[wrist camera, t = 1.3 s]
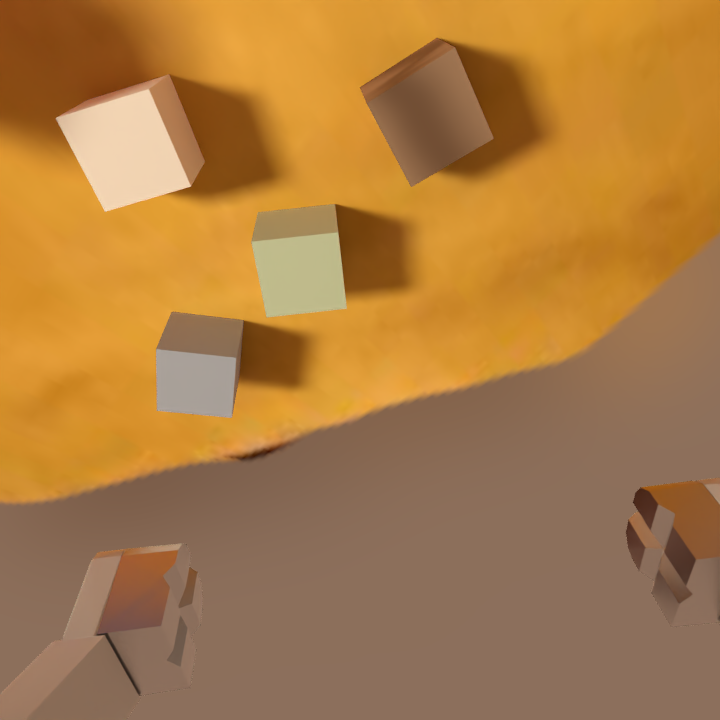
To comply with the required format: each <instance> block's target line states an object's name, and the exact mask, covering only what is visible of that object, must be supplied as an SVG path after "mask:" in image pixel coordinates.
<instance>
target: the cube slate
mask: <svg viewBox="0 0 720 720" xmlns="http://www.w3.org/2000/svg"><path fill="white" fill-rule="evenodd" d="M243 324H244V320H237V319H229V318H221V317H212V316H204V315H195V314H187V313H179V312H172V313H171V315H170V317H169V320H168V322H167V325H166V327H165V329H164V332H163V334H162V337H161V339H160V341H159V344H158V346H157V348H156V368H157V411H166V412H177V413H187V414H198V415H208V416H219V417H230V418H232V414H233V408H234V403H235V397H236V392H237V386H238V381H239V374H240V362H241V349H242V337H243Z"/></svg>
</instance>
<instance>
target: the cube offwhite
mask: <svg viewBox="0 0 720 720" xmlns="http://www.w3.org/2000/svg"><path fill="white" fill-rule="evenodd" d="M56 120H57V122H58V124H59V126H60V128H61V129H62V131H63V133H64V135H65V137H66V139H67V141H68V143H69V145H70V146H71V148H72V150H73V152H74V154H75V156H76V158H77V160H78V161H79V163H80V165H81V167H82V169H83V171H84V173H85V175H86V176H87V178H88V180H89V182H90V184H91V186H92V188H93V190H94V192H95V193H96V195H97V197H98V199H99V201H100V203H101V205H102V207H103V208H104V210H105V212H106V211H109V210H112V209H116V208H119V207H123V206H126V205H129V204H133V203H136V202H140V201H143V200H146V199H150V198H153V197H157V196H160V195H164V194H167V193H170V192H174V191H177V190H181V189H184V188H187V187H191V186H192V184H193V182H194V180H195V179H196V177H197V175H198V173H199V171H200V170H201V168H202V166H203V164H204V163H205V160H204V158H203V156H202V153H201V151H200V148H199V146H198V143H197V141H196V138H195V136H194V134H193V131H192V129H191V126H190V124H189V121H188V119H187V116H186V114H185V112H184V109H183V107H182V104H181V102H180V99H179V97H178V94H177V92H176V90H175V87H174V85H173V82H172V80H171V77H170V75H166V76H162V77H159V78H156V79H153V80H150V81H146V82H143V83H140V84H137V85H134V86H130V87H127V88H124V89H121V90H118V91H114V92H111V93H108V94H105V95H102V96H98V97H95V98H92V99H89V100H86V101H85V102H83V103H81V104H79V105H77V106H76V107H74V108H72V109H70V110H69V111H67V112H65V113H63V114H62V115H60V116H58V117H56Z"/></svg>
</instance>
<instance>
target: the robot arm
mask: <svg viewBox="0 0 720 720" xmlns="http://www.w3.org/2000/svg"><path fill="white" fill-rule="evenodd" d="M633 503H634V505H635V507H636V508H637V510H638V511H637V512H636V513H635V514H634V515H633V516H632V517H631V518H630V519H629V520H628V524H627V530H626V537H627V544H628V549H629V551H630V554H631V557H632V559H633V561H634V563H635V565H636V567H637V568H638V570H639V571H640V572H641V573H643V574H644V575H646V576H647V577H649V578H650V579H652V580H653V581H654V582H653V588H652V595H653V597H654V598H655V600H656V602H657V604H658V605H659V607H660V609H661V610H662V612H663V614H664V616H665V617H666V619H667V621H668V622H669V624H670V626H671V627H678V626H689V625H699V624H709V623H720V478H714V479H705V480H696V481H686V482H678V483H670V484H663V485H655V486H648V487H640V489H639V490H638V491H637V492H636V493H635V496H634V500H633ZM190 560H191V554H190V551H189V549H188V547H187V544H174V545H163V546H153V547H142V548H131V549H123V550H114V551H104V552H98V553H97V554H96V556H95V557H94V558H93V559H92V561H91V563H90V565H89V568H88V571H87V573H86V576H85V579H84V582H83V584H82V587H81V590H80V592H79V595H78V598H77V601H76V603H75V606H74V609H73V612H72V614H71V617H70V619H69V622H68V625H67V628H66V630H65V633H64V636H63V638H62V640H59V641H53V642H52V643H51V644H50V645H49V646H48V647H47V648H46V649H45V650H44V651H43V652H42V653H41V654H40V655H39V656H38V657H37V658H36V659H35V660H34V661H33V662H32V663H31V664H30V665H29V666H28V667H27V668H26V669H25V670H24V671H23V672H22V673H21V674H20V675H19V676H18V677H17V678H16V679H15V680H14V681H13V682H12V683H11V684H10V685H9V686H8V687H7V688H6V689H5V690H4V691H3V692H2V693H1V694H0V720H126V719H127V718H128V717H129V715H130V714H131V712H132V711H133V709H134V708H135V706H136V705H137V704H138V702H139V701H140V696H142V695H149V694H155V693H161V692H168V691H175V690H180V689H188V688H190V686H191V681H192V675H193V669H194V663H195V656H196V647H195V645H194V642H193V640H192V637H191V636H192V635H193V634H194V633H195V632H196V630H197V629H198V628H199V627H200V625H201V618H202V611H203V592H202V586H201V581H200V578H199V575H198V572H196V571H195V570H193V569H192V568H190V567H189V566H190Z"/></svg>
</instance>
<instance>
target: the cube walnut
mask: <svg viewBox="0 0 720 720" xmlns="http://www.w3.org/2000/svg"><path fill="white" fill-rule="evenodd" d="M360 89H361V91H362V93H363V96H364V98H365V100H366V103H367V105H368V107H369V108H370V110H371V112H372V114H373V116H374V118H375V120H376V122H377V123H378V125H379V127H380V129H381V131H382V133H383V135H384V137H385V139H386V140H387V142H388V144H389V146H390V148H391V150H392V152H393V154H394V155H395V157H396V159H397V161H398V163H399V165H400V167H401V169H402V171H403V172H404V174H405V176H406V178H407V180H408V182H409V184H410V186H411V187H412V186H414V185H415V184H417V183H419V182H421V181H422V180H424V179H426V178H427V177H429V176H431V175H433V174H434V173H436V172H438V171H439V170H441V169H443V168H445V167H446V166H448V165H450V164H451V163H453V162H455V161H456V160H458V159H460V158H462V157H463V156H465V155H467V154H468V153H470V152H472V151H474V150H475V149H477V148H479V147H480V146H482V145H484V144H486V143H487V142H489V141H491V140H492V139H494V138H493V135H492V133H491V130H490V128H489V126H488V123H487V121H486V119H485V116H484V114H483V112H482V109H481V107H480V105H479V102H478V100H477V98H476V95H475V93H474V91H473V88H472V86H471V83H470V81H469V79H468V76H467V74H466V72H465V69H464V67H463V65H462V62H461V60H460V58H459V55H458V53H457V51H456V48H455V47H454V46H452V45H450V44H448V43H446V42H444V41H442V40H440V39H438V38H436V39H434V40H433V41H431V42H430V43H428V44H427V45H425V46H424V47H422V48H420V49H419V50H417V51H416V52H414V53H413V54H411V55H410V56H408V57H406V58H405V59H403V60H402V61H400V62H399V63H397V64H396V65H394V66H392V67H391V68H389V69H388V70H386V71H385V72H383V73H382V74H380V75H379V76H377V77H375V78H374V79H372V80H371V81H369V82H368V83H366V84H365V85H363V86H361V87H360Z"/></svg>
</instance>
